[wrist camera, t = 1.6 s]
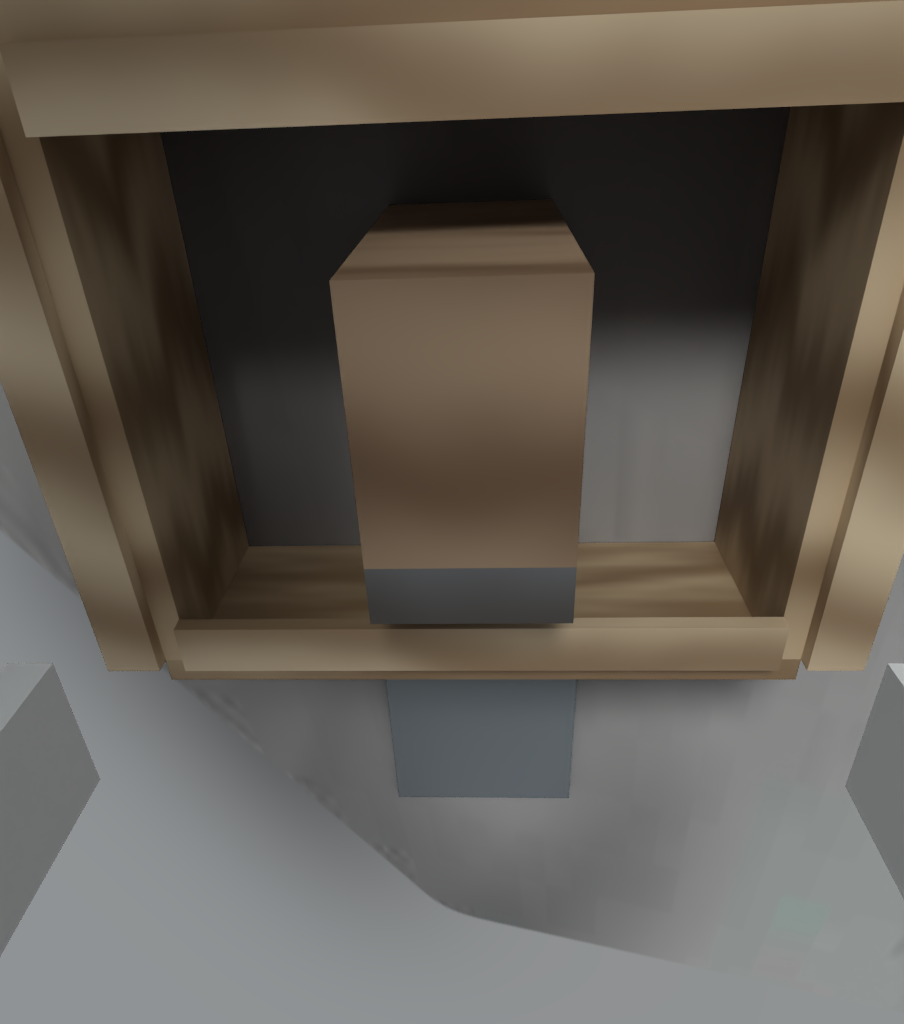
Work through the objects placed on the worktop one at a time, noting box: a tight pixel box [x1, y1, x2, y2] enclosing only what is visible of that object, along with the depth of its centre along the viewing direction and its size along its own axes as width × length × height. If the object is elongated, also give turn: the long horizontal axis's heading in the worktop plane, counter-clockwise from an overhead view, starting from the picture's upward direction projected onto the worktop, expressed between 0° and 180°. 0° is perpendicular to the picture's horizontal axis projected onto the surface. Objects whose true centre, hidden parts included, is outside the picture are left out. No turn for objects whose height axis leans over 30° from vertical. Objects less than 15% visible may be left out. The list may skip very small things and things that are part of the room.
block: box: [329, 199, 595, 624], centre depth 24 cm, size 10×6×12 cm, turn 2°
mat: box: [386, 679, 577, 798], centre depth 39 cm, size 15×10×1 cm, turn 2°
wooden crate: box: [0, 0, 904, 679], centre depth 25 cm, size 22×28×9 cm
